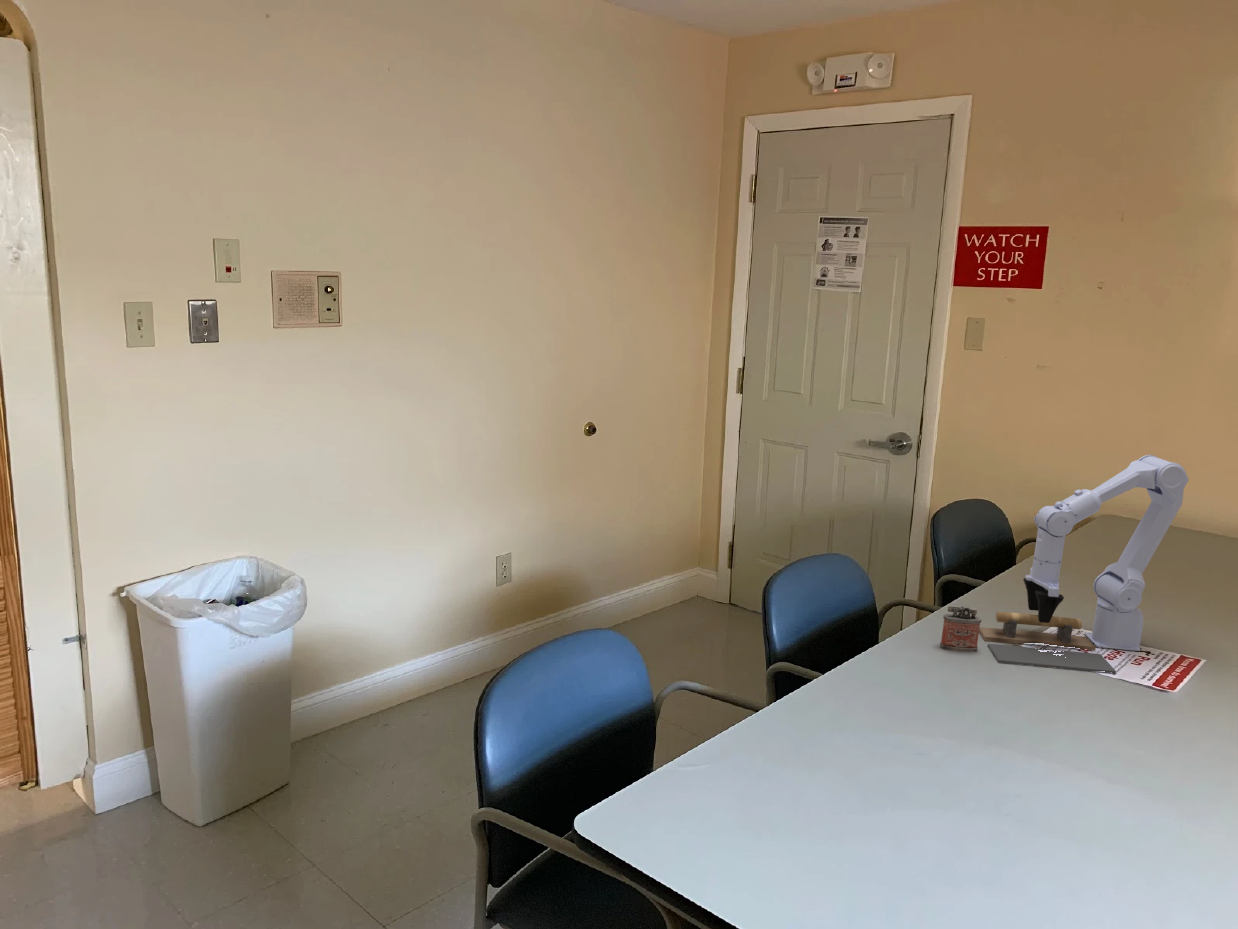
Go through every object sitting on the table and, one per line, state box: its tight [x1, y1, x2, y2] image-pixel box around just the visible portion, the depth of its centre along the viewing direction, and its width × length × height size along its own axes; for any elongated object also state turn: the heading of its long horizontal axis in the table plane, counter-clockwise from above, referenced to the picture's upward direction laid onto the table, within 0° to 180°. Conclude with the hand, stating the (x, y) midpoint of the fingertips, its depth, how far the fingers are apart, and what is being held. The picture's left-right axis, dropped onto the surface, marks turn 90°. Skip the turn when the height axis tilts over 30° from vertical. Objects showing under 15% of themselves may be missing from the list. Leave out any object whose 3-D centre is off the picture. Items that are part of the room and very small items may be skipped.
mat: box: [987, 643, 1117, 674], centre depth 198 cm, size 24×9×1 cm, turn 82°
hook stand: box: [979, 620, 1097, 651], centre depth 208 cm, size 24×6×5 cm, turn 82°
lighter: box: [939, 604, 982, 653], centre depth 201 cm, size 8×3×10 cm, turn 84°
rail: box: [995, 611, 1083, 630], centre depth 208 cm, size 18×2×2 cm, turn 82°
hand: (1038, 616), depth 207 cm, fingers open, 7 cm apart
